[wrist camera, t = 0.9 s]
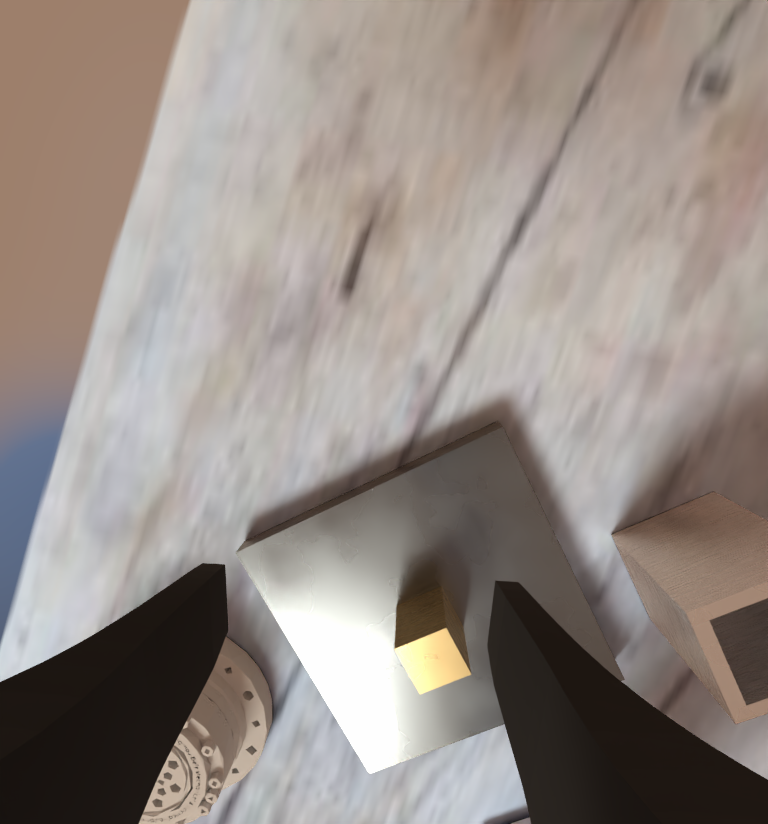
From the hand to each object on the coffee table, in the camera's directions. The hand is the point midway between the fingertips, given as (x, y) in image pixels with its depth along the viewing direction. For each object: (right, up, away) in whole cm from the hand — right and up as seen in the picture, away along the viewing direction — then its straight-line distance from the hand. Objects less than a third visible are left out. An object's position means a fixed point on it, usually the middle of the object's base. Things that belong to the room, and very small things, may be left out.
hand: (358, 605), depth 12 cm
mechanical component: (-10, -11, +14) cm, 20 cm away
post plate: (+3, -5, +11) cm, 12 cm away
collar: (+15, -2, +10) cm, 18 cm away
